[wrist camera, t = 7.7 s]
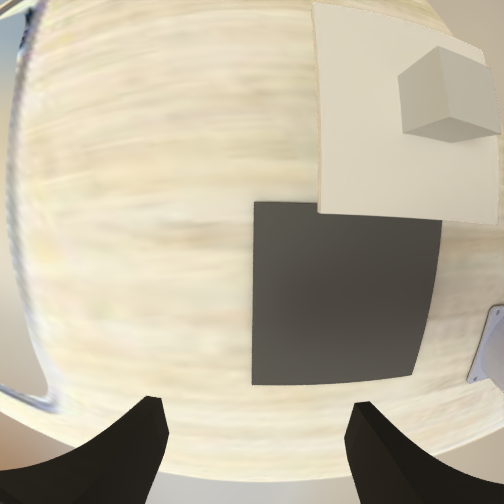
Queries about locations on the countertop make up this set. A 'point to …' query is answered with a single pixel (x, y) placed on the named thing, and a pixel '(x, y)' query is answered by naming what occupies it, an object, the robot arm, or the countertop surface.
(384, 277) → the mat
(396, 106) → the cover
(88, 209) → the countertop surface
